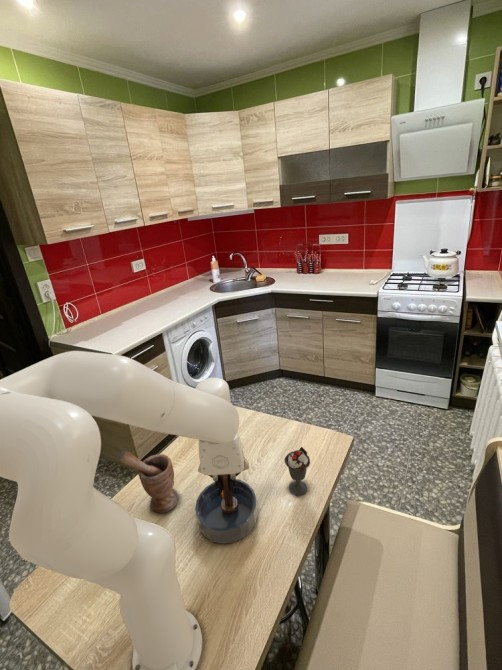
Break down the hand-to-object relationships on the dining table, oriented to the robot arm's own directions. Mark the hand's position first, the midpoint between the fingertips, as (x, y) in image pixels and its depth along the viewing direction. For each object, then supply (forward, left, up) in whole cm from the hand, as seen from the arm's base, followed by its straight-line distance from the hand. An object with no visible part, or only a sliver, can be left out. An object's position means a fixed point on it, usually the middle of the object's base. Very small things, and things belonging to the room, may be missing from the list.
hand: (226, 487), depth 86 cm
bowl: (-2, +1, -8) cm, 8 cm away
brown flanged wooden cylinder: (0, 0, -7) cm, 7 cm away
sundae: (+5, -18, -9) cm, 21 cm away
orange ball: (+4, +1, -6) cm, 7 cm away
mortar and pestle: (+3, +20, -9) cm, 22 cm away
